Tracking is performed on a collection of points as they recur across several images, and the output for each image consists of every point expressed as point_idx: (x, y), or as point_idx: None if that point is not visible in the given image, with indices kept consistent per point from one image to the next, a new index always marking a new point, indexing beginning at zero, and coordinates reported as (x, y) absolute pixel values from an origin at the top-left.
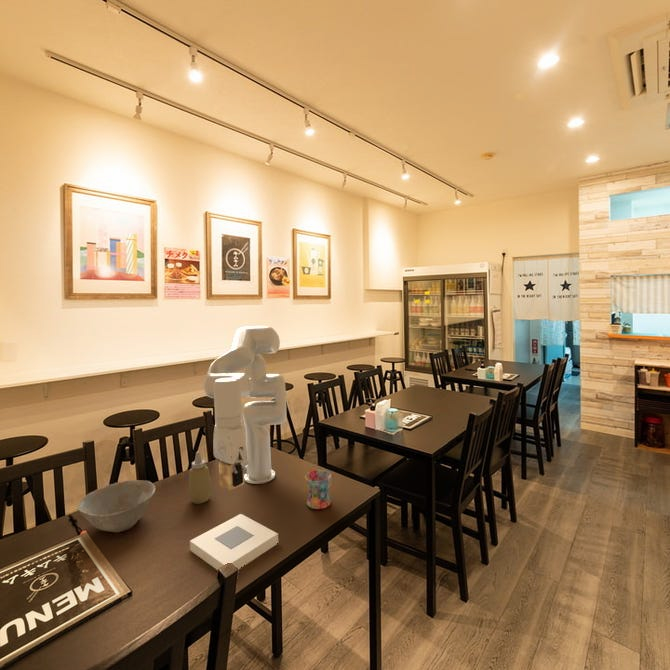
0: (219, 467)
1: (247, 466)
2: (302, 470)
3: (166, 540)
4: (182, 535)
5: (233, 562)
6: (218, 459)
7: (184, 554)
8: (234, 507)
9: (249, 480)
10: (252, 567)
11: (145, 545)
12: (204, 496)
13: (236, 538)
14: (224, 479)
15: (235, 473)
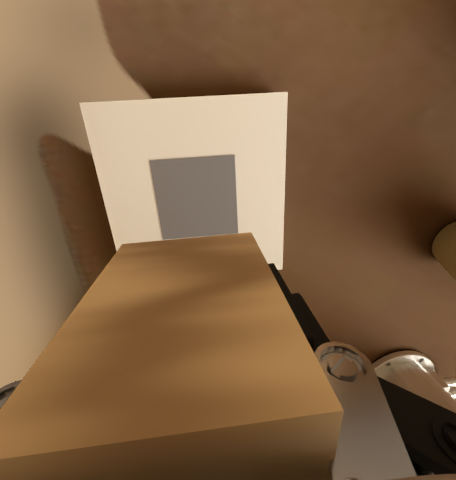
0: (286, 333)
1: (441, 388)
2: None
3: (381, 70)
4: (360, 119)
5: (86, 131)
6: (449, 433)
7: (276, 73)
8: (344, 279)
9: (400, 357)
10: (87, 177)
11: (418, 3)
12: (445, 247)
13: (184, 199)
14: (181, 269)
15: (6, 385)
